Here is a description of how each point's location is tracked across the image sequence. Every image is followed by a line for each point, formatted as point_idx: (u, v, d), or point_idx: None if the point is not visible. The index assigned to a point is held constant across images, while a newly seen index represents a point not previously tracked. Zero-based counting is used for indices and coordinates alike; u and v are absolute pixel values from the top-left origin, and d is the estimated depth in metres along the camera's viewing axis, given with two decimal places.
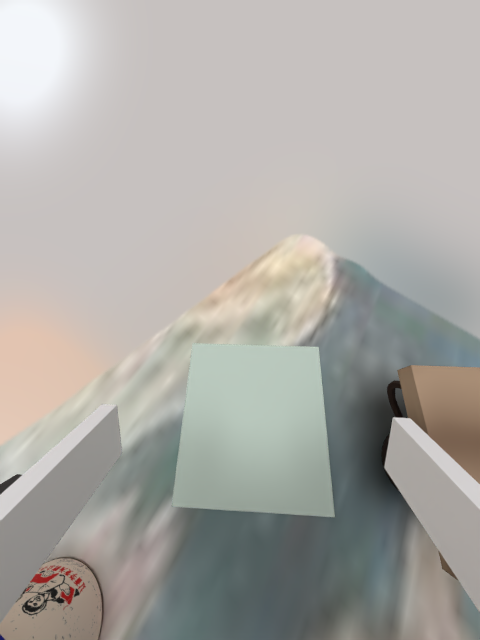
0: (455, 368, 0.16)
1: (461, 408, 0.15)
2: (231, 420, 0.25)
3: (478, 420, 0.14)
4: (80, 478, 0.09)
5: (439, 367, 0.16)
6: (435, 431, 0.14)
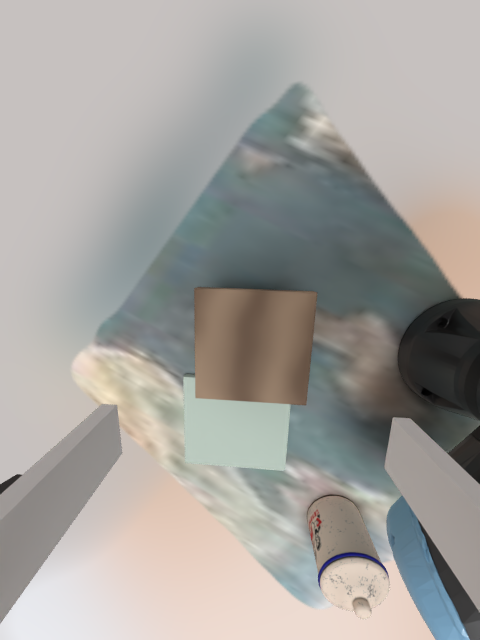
0: (196, 371, 0.23)
1: (221, 377, 0.23)
2: (237, 438, 0.36)
3: (228, 370, 0.23)
4: (80, 478, 0.09)
5: (196, 381, 0.23)
6: (235, 396, 0.23)
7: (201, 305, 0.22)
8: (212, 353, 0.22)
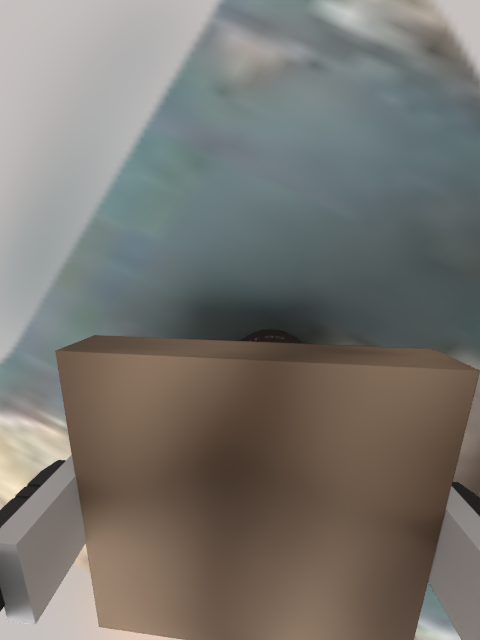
0: (93, 569, 0.08)
1: (163, 588, 0.08)
2: None
3: (180, 573, 0.08)
4: None
5: (95, 591, 0.08)
6: (204, 634, 0.08)
7: (84, 403, 0.07)
8: (130, 529, 0.08)
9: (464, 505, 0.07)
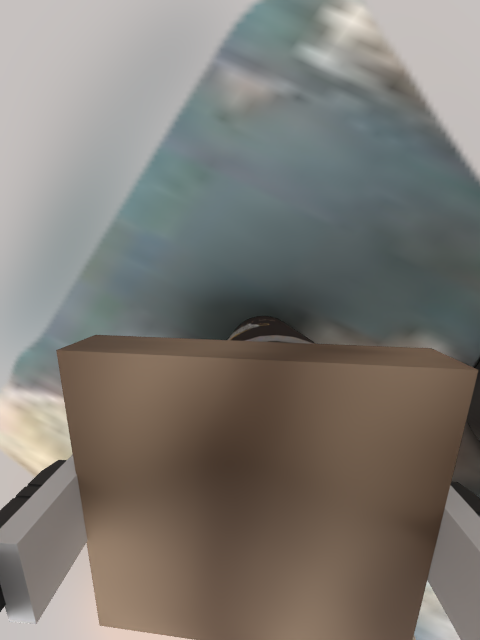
0: (93, 568, 0.08)
1: (163, 587, 0.08)
2: None
3: (181, 572, 0.08)
4: None
5: (96, 589, 0.09)
6: (204, 632, 0.08)
7: (85, 402, 0.07)
8: (131, 528, 0.08)
9: (463, 505, 0.07)
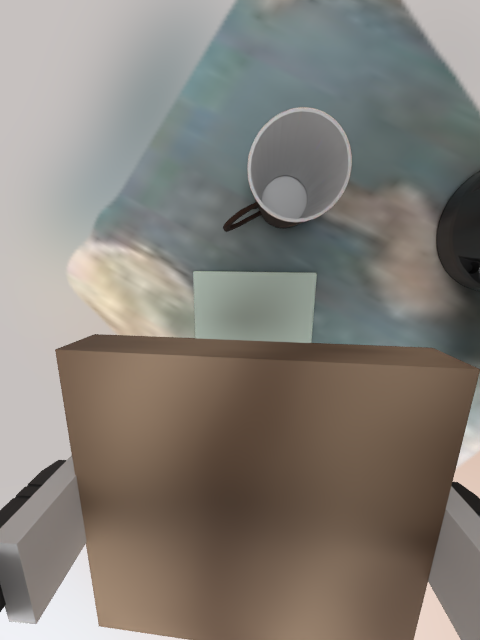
0: (93, 569, 0.08)
1: (163, 588, 0.08)
2: None
3: (180, 572, 0.08)
4: None
5: (95, 590, 0.08)
6: (204, 633, 0.08)
7: (84, 401, 0.07)
8: (130, 529, 0.08)
9: (463, 505, 0.07)
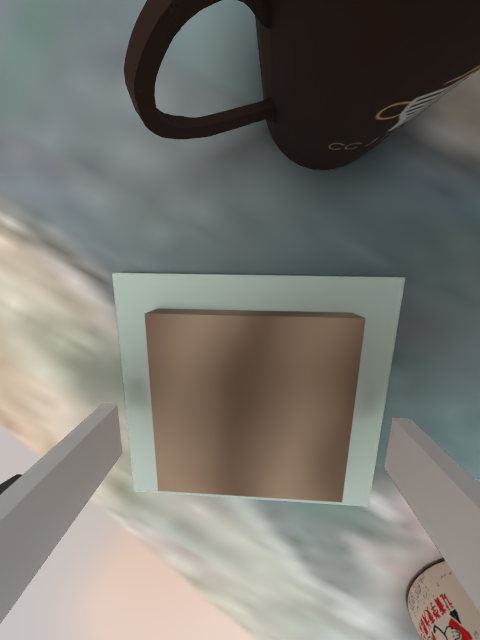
0: (156, 450, 0.14)
1: (200, 459, 0.14)
2: None
3: (210, 448, 0.13)
4: (80, 478, 0.09)
5: (157, 465, 0.14)
6: (224, 488, 0.14)
7: (159, 343, 0.12)
8: (181, 421, 0.13)
9: None
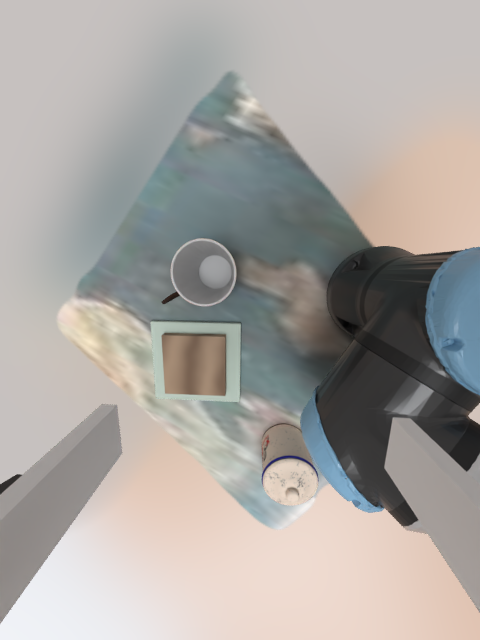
0: (164, 379, 0.42)
1: (178, 381, 0.42)
2: None
3: (182, 377, 0.42)
4: (80, 478, 0.09)
5: (164, 384, 0.42)
6: (187, 392, 0.42)
7: (165, 344, 0.41)
8: (172, 368, 0.41)
9: None
